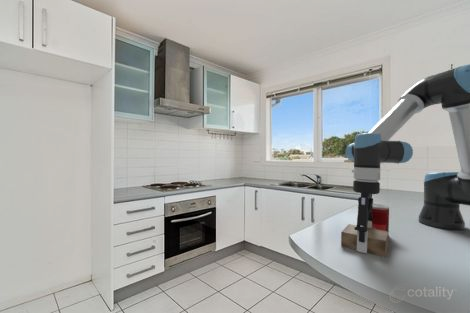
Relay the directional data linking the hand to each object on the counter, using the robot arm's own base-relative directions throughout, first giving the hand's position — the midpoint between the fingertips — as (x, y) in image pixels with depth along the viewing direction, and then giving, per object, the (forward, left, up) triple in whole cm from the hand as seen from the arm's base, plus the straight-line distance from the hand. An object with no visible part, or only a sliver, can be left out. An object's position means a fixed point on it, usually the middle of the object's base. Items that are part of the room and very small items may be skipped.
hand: (364, 245), depth 74 cm
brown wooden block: (0, 0, 0) cm, 1 cm away
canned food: (-2, -15, 0) cm, 15 cm away
